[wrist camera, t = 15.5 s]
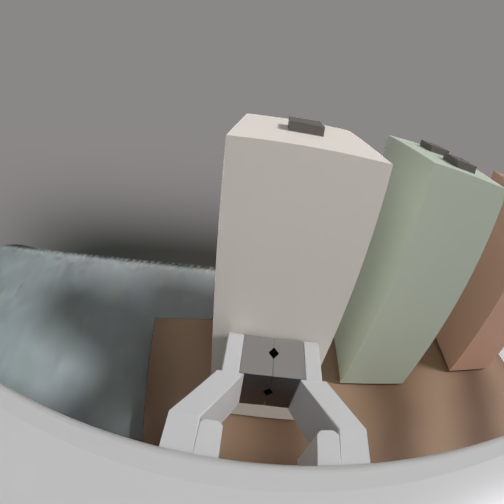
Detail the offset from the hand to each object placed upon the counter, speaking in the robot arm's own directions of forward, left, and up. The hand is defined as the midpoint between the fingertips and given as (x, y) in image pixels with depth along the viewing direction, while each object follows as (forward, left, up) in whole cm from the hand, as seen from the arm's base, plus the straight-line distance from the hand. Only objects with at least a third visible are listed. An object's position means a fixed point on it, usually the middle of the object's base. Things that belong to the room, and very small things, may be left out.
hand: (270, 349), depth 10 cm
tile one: (-2, +2, -5) cm, 6 cm away
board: (+4, +6, -7) cm, 10 cm away
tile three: (+8, +14, -5) cm, 17 cm away
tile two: (+2, +8, -5) cm, 10 cm away
